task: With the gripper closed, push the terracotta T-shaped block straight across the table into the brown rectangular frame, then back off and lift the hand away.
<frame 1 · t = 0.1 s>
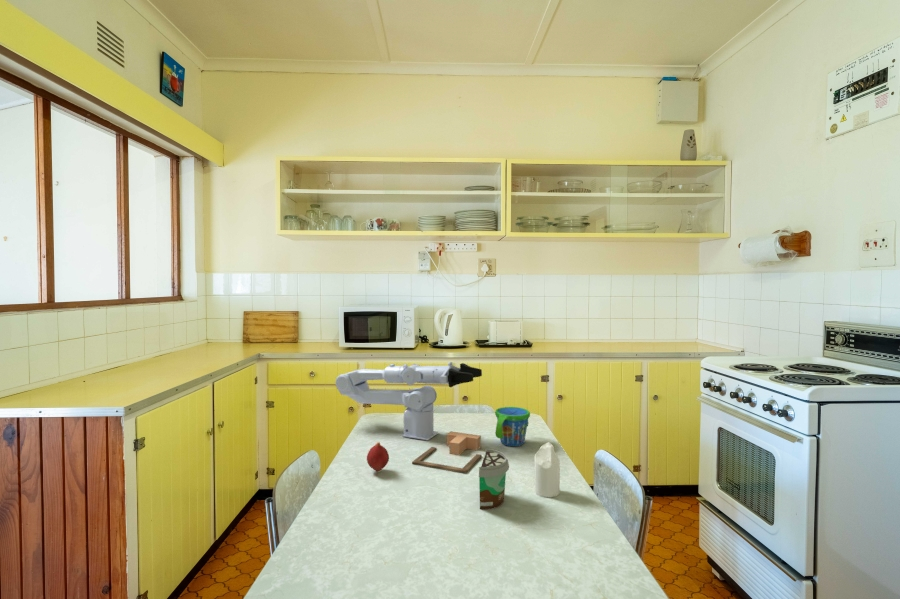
hand: (477, 375, 144), 22 cm above the table, tool horizontal, fingers open, 7 cm apart
roll: (546, 492, 112), on the table
snack cup: (512, 443, 146), on the table
food container: (495, 501, 108), on the table
onion: (378, 472, 125), on the table
T block: (460, 449, 140), on the table
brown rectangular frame: (448, 459, 133), on the table
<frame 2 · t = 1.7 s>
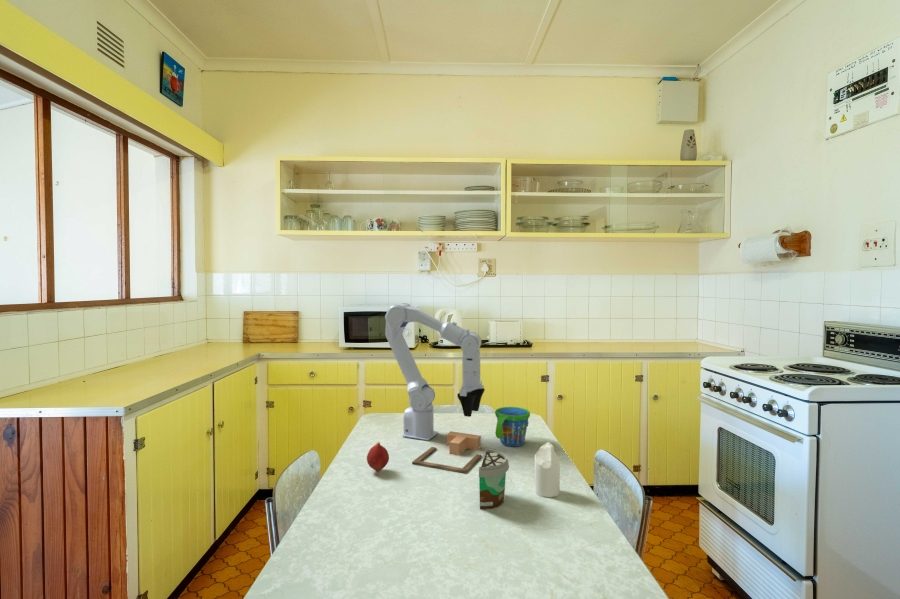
hand: (471, 413, 149), 8 cm above the table, tool pointing down, fingers open, 6 cm apart
nothing on the table moved.
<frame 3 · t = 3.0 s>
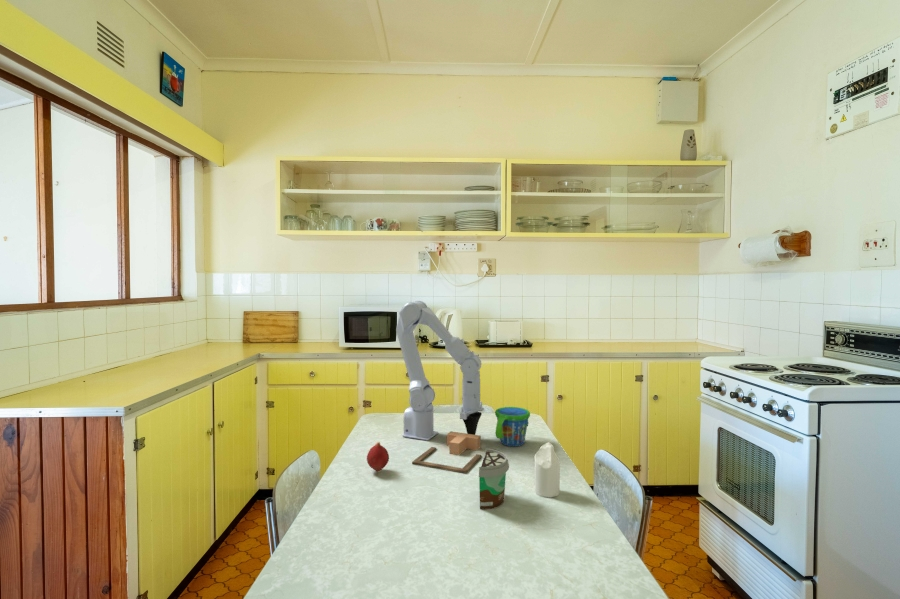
hand: (471, 435, 149), 1 cm above the table, tool pointing down, fingers closed
nothing on the table moved.
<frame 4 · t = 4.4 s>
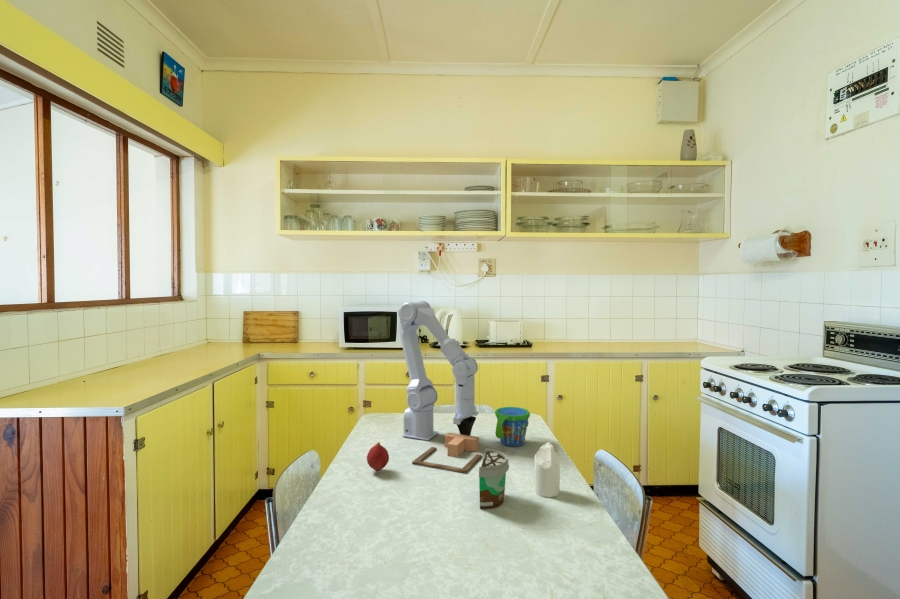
hand: (465, 440, 144), 1 cm above the table, tool pointing down, fingers closed
T block: (458, 450, 139), on the table, touching gripper
everything else where it was.
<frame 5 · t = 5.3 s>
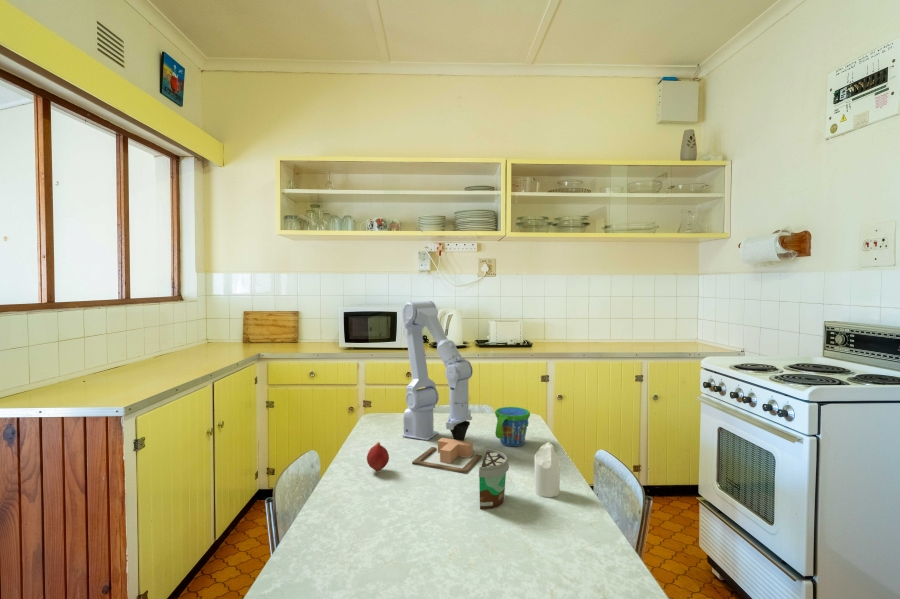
hand: (459, 446, 140), 1 cm above the table, tool pointing down, fingers closed
T block: (451, 456, 134), on the table, touching gripper
everything else where it was.
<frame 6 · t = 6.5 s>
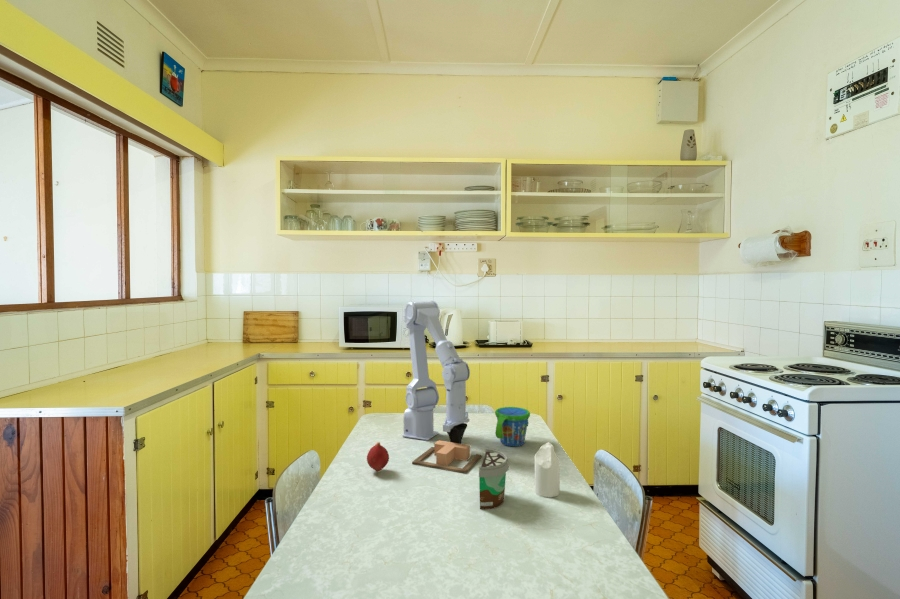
hand: (456, 448, 138), 1 cm above the table, tool pointing down, fingers closed
T block: (447, 459, 132), on the table, touching gripper
everything else where it was.
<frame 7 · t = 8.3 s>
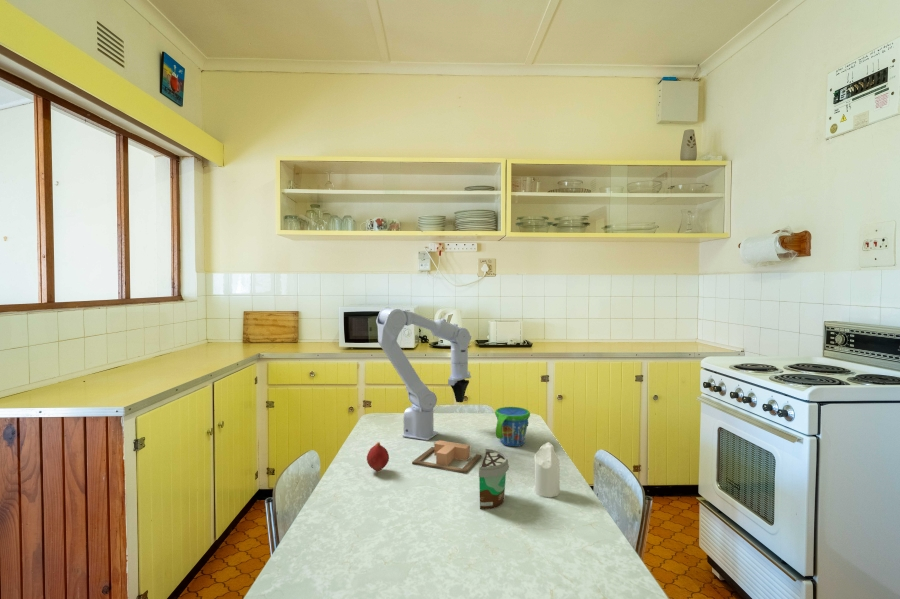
hand: (459, 401, 159), 9 cm above the table, tool pointing down, fingers closed
T block: (447, 459, 132), on the table
everything else where it was.
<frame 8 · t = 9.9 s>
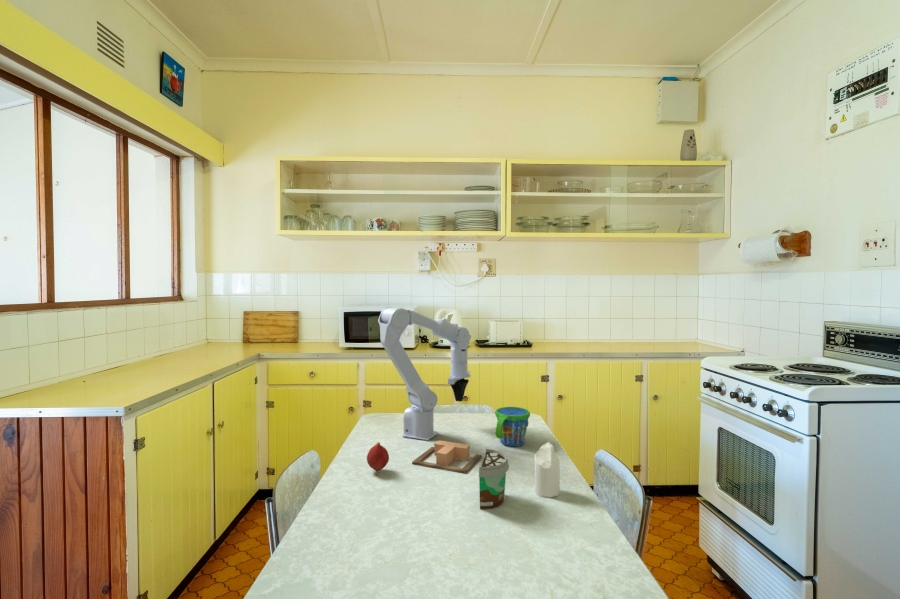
hand: (459, 400, 160), 9 cm above the table, tool pointing down, fingers closed
nothing on the table moved.
at the end: T block 0.3 cm from the target spot, on the table; T block tilted 0° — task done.
